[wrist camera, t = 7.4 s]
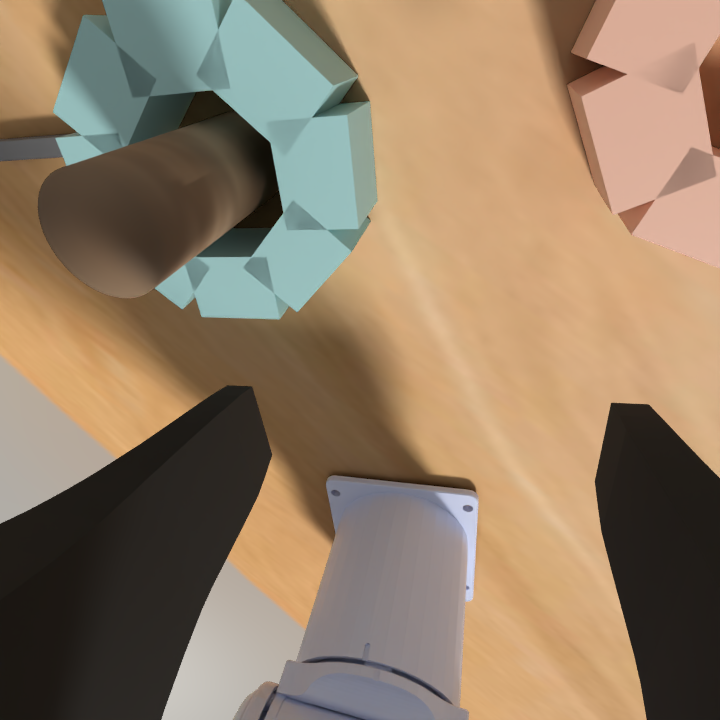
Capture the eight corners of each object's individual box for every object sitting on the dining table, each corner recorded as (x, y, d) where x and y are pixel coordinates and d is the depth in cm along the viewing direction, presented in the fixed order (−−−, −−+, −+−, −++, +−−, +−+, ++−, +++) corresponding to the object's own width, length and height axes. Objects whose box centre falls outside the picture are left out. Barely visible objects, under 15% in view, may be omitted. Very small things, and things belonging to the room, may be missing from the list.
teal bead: (383, 284, 19) (368, 321, 17) (168, 282, 22) (127, 314, 19) (360, -29, 14) (331, -39, 12) (76, 14, 16) (3, 12, 14)
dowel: (293, 200, 18) (183, 296, 12) (217, 206, 19) (76, 299, 13) (273, 105, 16) (132, 158, 10) (191, 117, 17) (12, 172, 11)
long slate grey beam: (132, 149, 18) (120, 153, 18) (6, 157, 20) (-8, 161, 19) (125, 129, 18) (113, 132, 18) (-2, 139, 20) (-17, 142, 19)
